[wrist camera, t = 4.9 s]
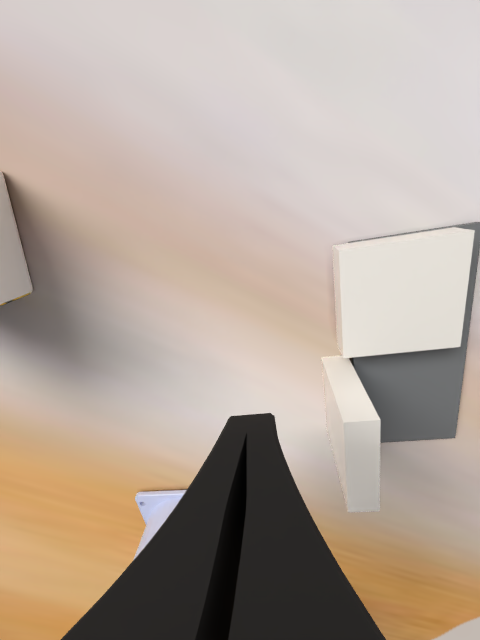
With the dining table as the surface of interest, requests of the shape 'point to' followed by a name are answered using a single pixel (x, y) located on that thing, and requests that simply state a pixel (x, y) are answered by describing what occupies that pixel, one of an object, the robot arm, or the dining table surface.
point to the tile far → (352, 434)
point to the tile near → (402, 292)
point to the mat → (420, 378)
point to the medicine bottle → (11, 253)
